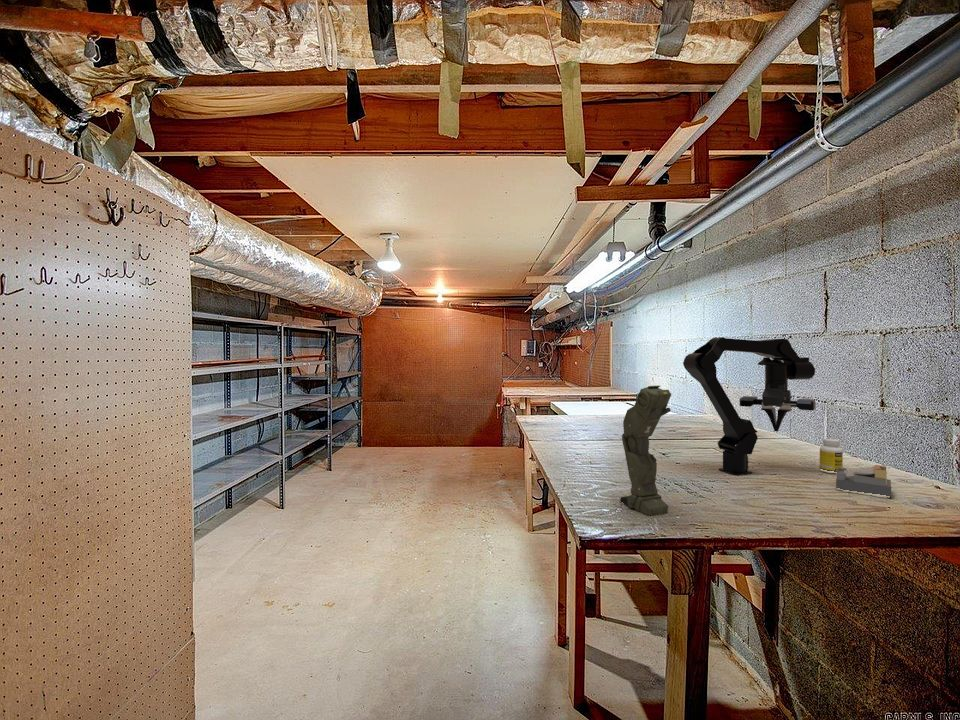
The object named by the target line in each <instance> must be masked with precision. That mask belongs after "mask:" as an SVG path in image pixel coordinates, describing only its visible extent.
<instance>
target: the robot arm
mask: <svg viewBox="0 0 960 720" xmlns="http://www.w3.org/2000/svg"><path fill="white" fill-rule="evenodd" d="M725 351H726V352H735V353H736V352H738V353H752V354H755V355H756V356H757V355H758V356H760V357H763V358H762V360H760V361H759V362H757V365H758V366H764V390H763V392H762V396H761V398H758V396H750V395H749V396H748V395H744V396H742V397H740V398H739V407H749V408H751V407H752V406H755V405H756V406H761V408H760V410H761V411H763V412H765V414H766V415H767V416H768V418H769V421H770V423H771V425H772V427H773V431H774V432H779V430H780V427H781V425H782V423H783V419H785V416H786V414H787V413H789V412H792V411H793V408H797V409H798V410H801V411H814V410H816V404H817V403H816V400H814V399H813V398H812V399H811V398H798V399H796V400H792V394H791V390H790V389H788V388H789V387H788V386H789V385H788V384H789V382H788V380H791V381H792V380H793V381H795V380H796V381H797V380H801V381H802V380H811V379H812V378H814V376H815V374H816V368H815V367H814V364H813V363H812V362H811V361H810V357H809V356H807V357H802V356H801V357H800V356H799V355H798V353H797V352H796V351H795V349H794V347H793V346H792V344H791V342H790V341H789V339H787V338H771V339H770V338H768V339H761V340H756V339H755V340H753V339H739V338H729V337H723V336H721V337H720V336H719V337H713V338H710V339H709V340H708V341H707V342H706V343H705V344H702V346H700V347H698V348H696V350H694V351H693V352H692V353H691V352H690V353H688V354H687V355H686V356H685V357H684V359H683V361H682V362H683V363H682V364H683V367H684V370H686V371H687V373H688V374H689V375H690V376H691V377H692V378H693V379H694V380H696V381H697V382H699V384H700V386H701V388H702V389H703V391H704V392H705V394H706V395H707V397H708V400H709V401H710V402H711V404H712V407H714V409H715V411H716V412H717V414H718V416H719V418H720V420H721V422H722V431H723V436H722V437H721V438H720V439H719V440H718V441H717V446H718V449H719V450H723V451H722V467H719V468H718V471H721V472H724V473H728V474H730V475H731V474H732V475H735V476H740V475H747V474H748V475H749V474H752V473H753V471H752V470H749V456H748V455H752V454H753V451H754V449H755V447H756V446H755V445H756V444H757V442H758V441H757V440H758V438H759V437H758V435H757V433H759V431H757V429H756V428H755V427H754V424H753V422H752V421H751V420H750V419H745V418H741V416H740V415H739V413H738V412H737V410H736V408H735V407H734V404H732V402H731V400H730V398H729V396H728V394H727V393H726V391H725V390H724V388H723V385H722V384H721V382H720V381H719V378H718V377H717V367H716V363H717V362H718V361H719V360H720V359H721V356H722V355H723V353H724V352H725ZM776 407H777V408H778V407H779V408H778V409H777V413H776Z"/></svg>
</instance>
